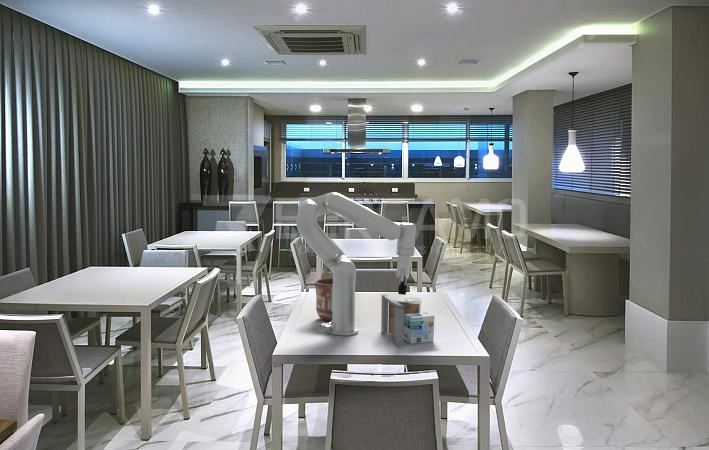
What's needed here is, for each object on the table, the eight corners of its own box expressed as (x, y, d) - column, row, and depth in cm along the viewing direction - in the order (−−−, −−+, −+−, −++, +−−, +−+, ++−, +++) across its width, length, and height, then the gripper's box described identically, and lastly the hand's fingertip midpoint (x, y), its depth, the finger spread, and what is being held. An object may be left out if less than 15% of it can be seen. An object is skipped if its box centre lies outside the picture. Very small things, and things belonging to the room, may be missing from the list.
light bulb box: (410, 344, 242) (411, 317, 241) (403, 339, 248) (403, 313, 247) (434, 341, 246) (435, 315, 245) (426, 337, 252) (427, 311, 251)
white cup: (406, 322, 277) (406, 300, 277) (401, 318, 285) (402, 297, 284) (423, 322, 279) (423, 300, 278) (418, 318, 287) (418, 297, 286)
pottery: (329, 313, 294) (328, 276, 293) (360, 318, 285) (360, 280, 284) (307, 321, 279) (307, 282, 277) (340, 326, 270) (340, 286, 268)
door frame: (398, 346, 238) (399, 306, 237) (381, 331, 261) (381, 294, 260) (403, 346, 239) (404, 306, 238) (385, 331, 262) (386, 294, 260)
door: (387, 333, 258) (388, 300, 256) (389, 332, 258) (389, 300, 257) (418, 337, 251) (418, 304, 250) (419, 337, 252) (419, 303, 250)
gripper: (398, 249, 268) (395, 290, 270) (394, 252, 254) (391, 296, 255) (415, 250, 267) (412, 292, 268) (412, 254, 252) (409, 298, 254)
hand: (402, 294), depth 262 cm, fingers closed
